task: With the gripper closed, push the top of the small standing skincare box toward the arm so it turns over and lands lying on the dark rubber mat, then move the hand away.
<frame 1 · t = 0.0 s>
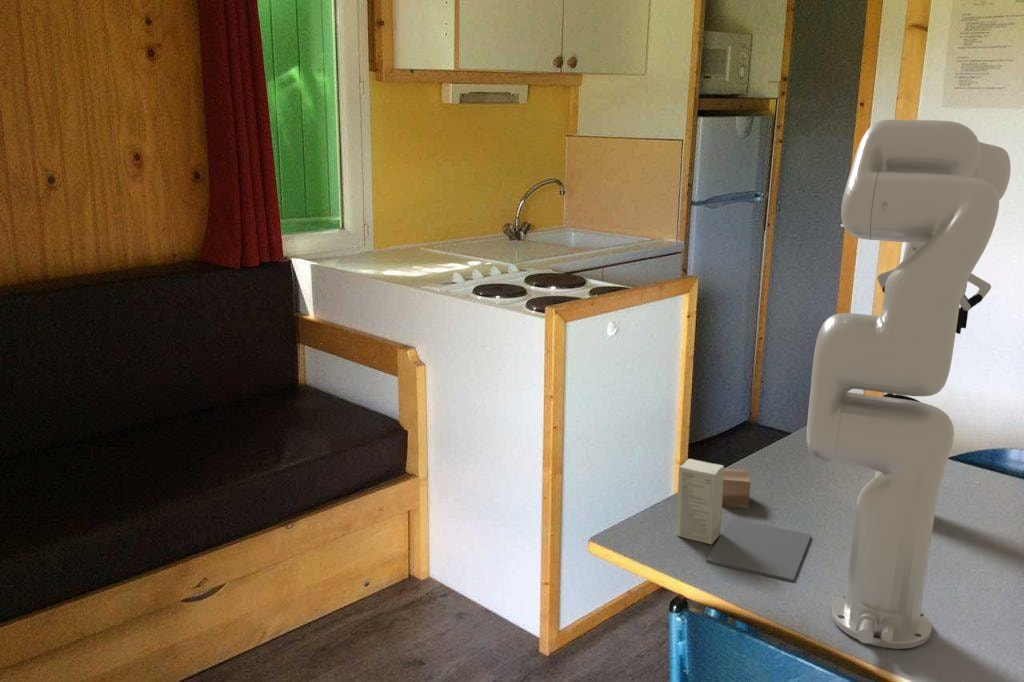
hand: (926, 328, 156), 31 cm above the table, tool pointing down, fingers open, 9 cm apart
mat: (760, 549, 146), on the table
travel mug: (889, 508, 161), on the table
walnut block: (733, 501, 163), on the table
skincare box: (697, 536, 150), on the table
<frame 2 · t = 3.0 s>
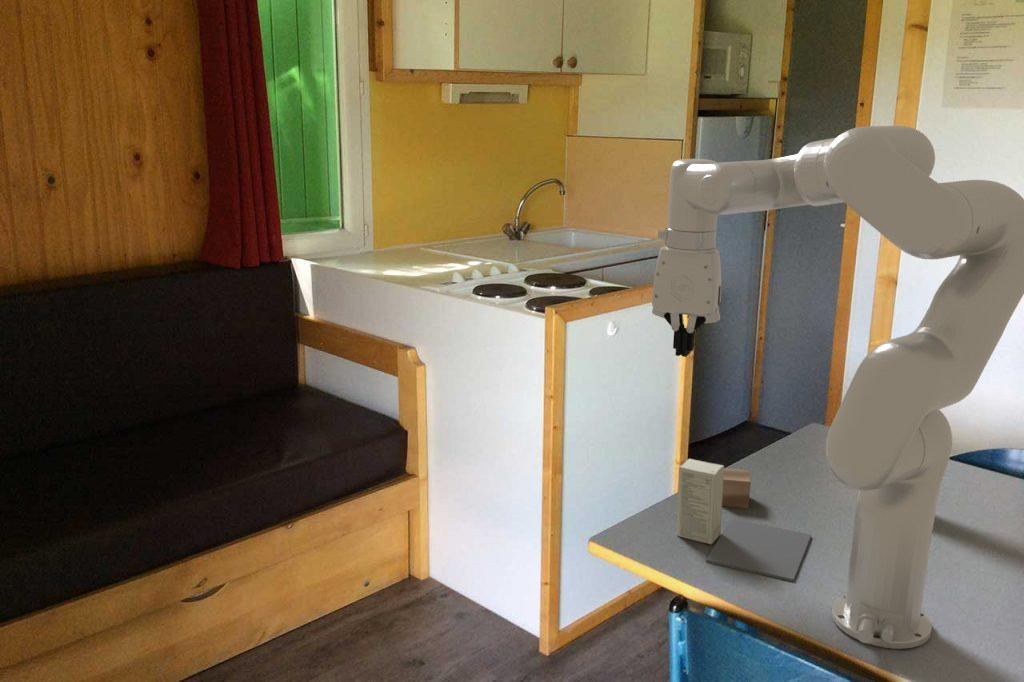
hand: (683, 354, 148), 29 cm above the table, tool pointing down, fingers closed
nothing on the table moved.
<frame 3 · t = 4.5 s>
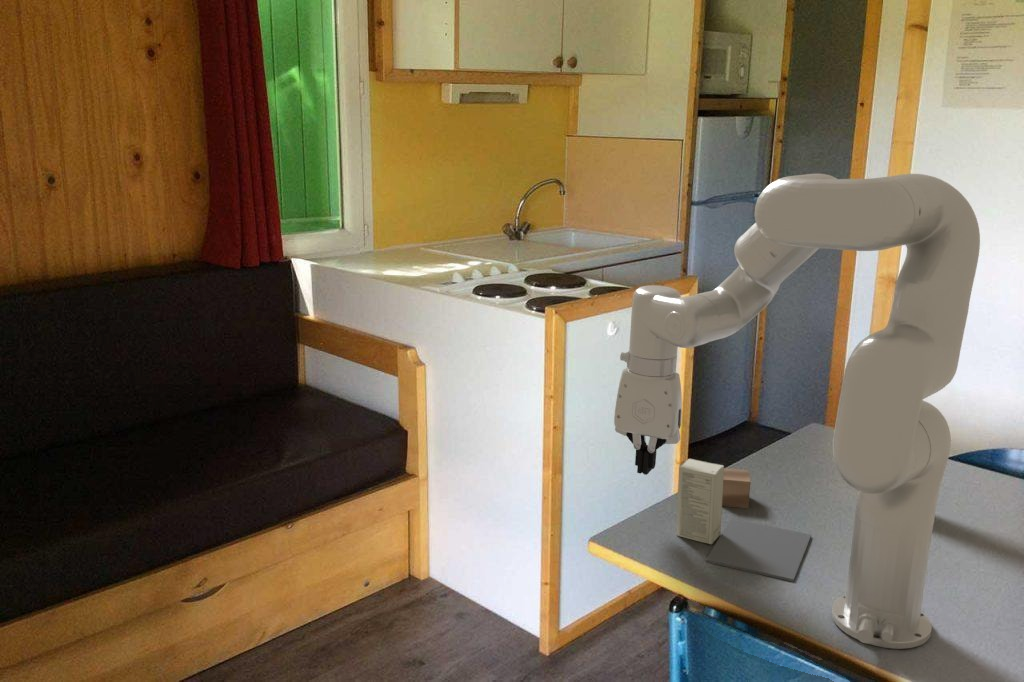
hand: (644, 470, 152), 9 cm above the table, tool pointing down, fingers closed
nothing on the table moved.
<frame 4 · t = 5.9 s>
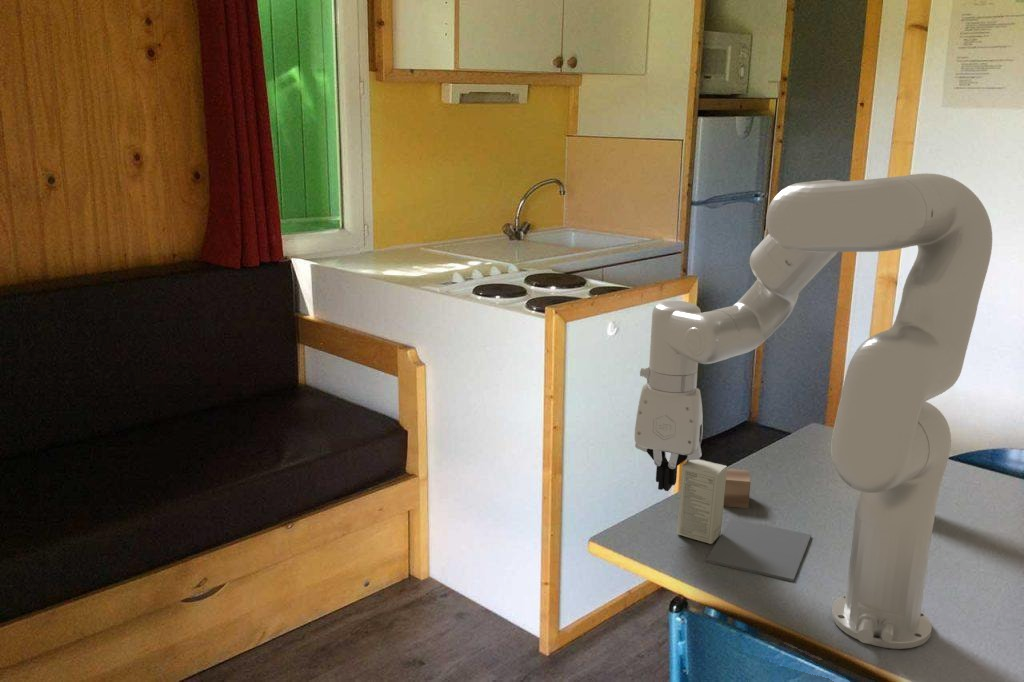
hand: (665, 487, 150), 7 cm above the table, tool pointing down, fingers closed
skincare box: (697, 535, 150), on the table, touching gripper
everything else where it was.
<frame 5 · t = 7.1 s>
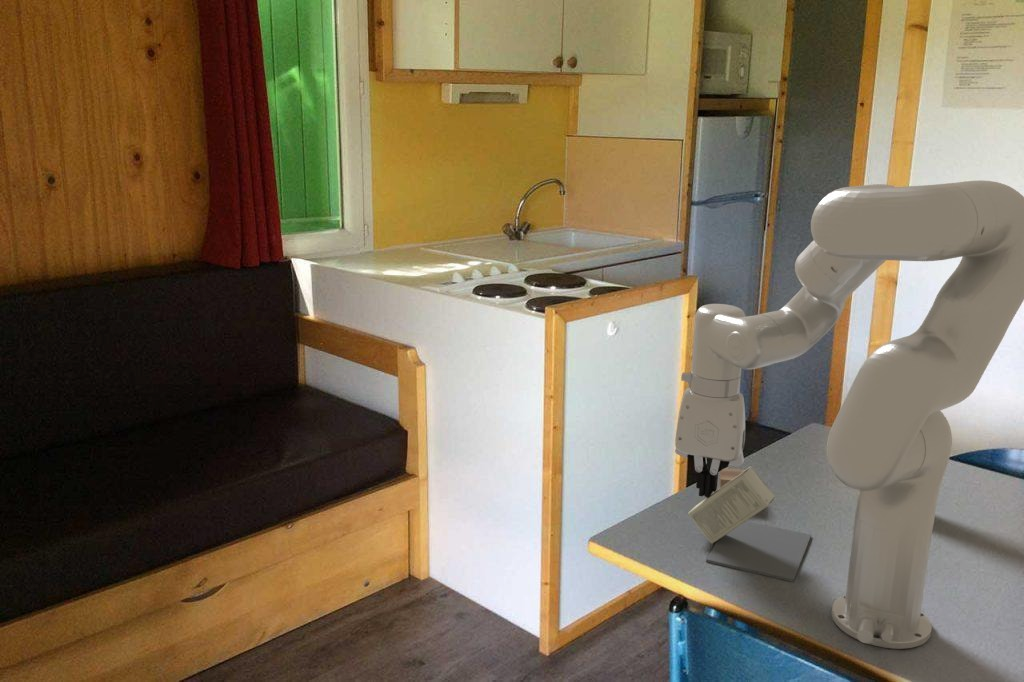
hand: (706, 493, 148), 7 cm above the table, tool pointing down, fingers closed
skincare box: (702, 524, 149), point 2 cm above the table, touching gripper, mat
everything else where it was.
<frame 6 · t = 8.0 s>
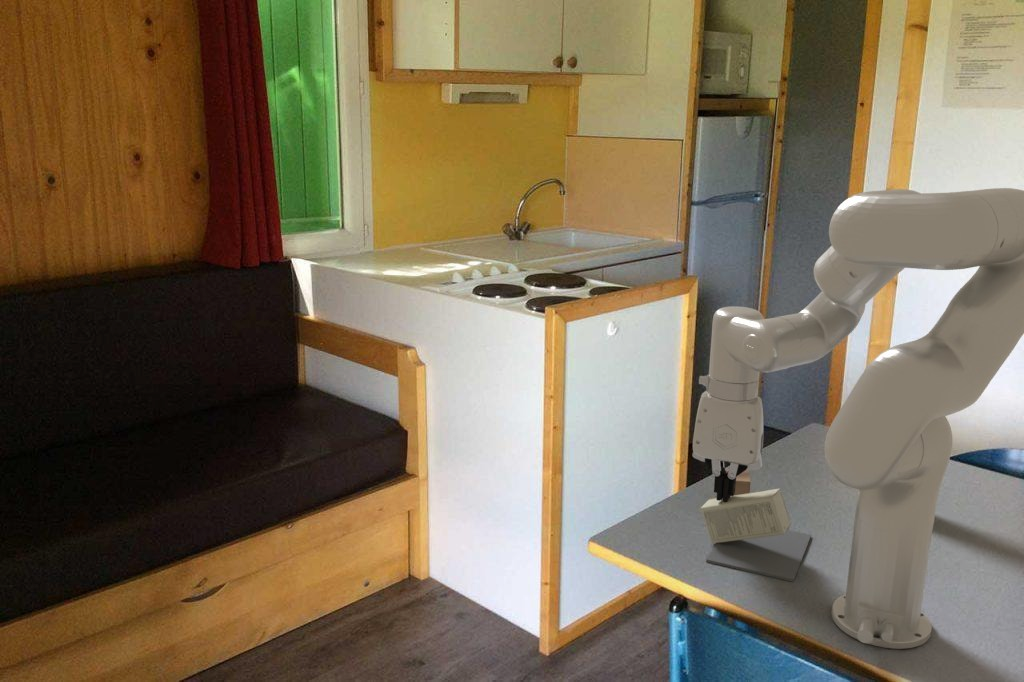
hand: (723, 497, 146), 7 cm above the table, tool pointing down, fingers closed
skincare box: (708, 520, 148), point 3 cm above the table, touching gripper, mat
everything else where it was.
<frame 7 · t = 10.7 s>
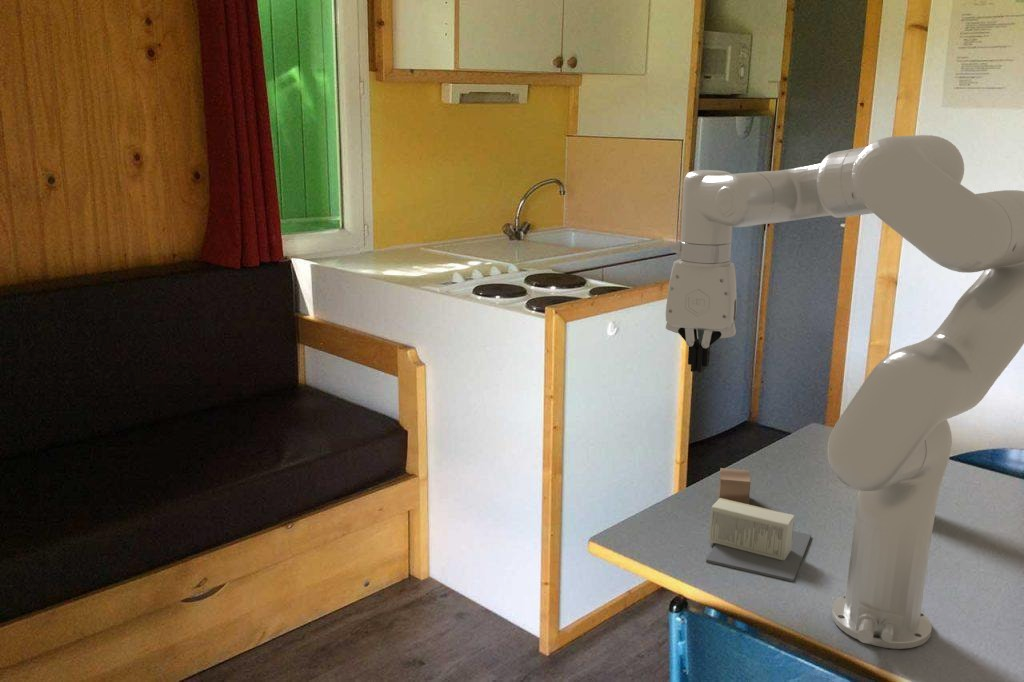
hand: (698, 369, 144), 27 cm above the table, tool pointing down, fingers closed
skincare box: (712, 518, 148), point 4 cm above the table, touching mat
everything else where it was.
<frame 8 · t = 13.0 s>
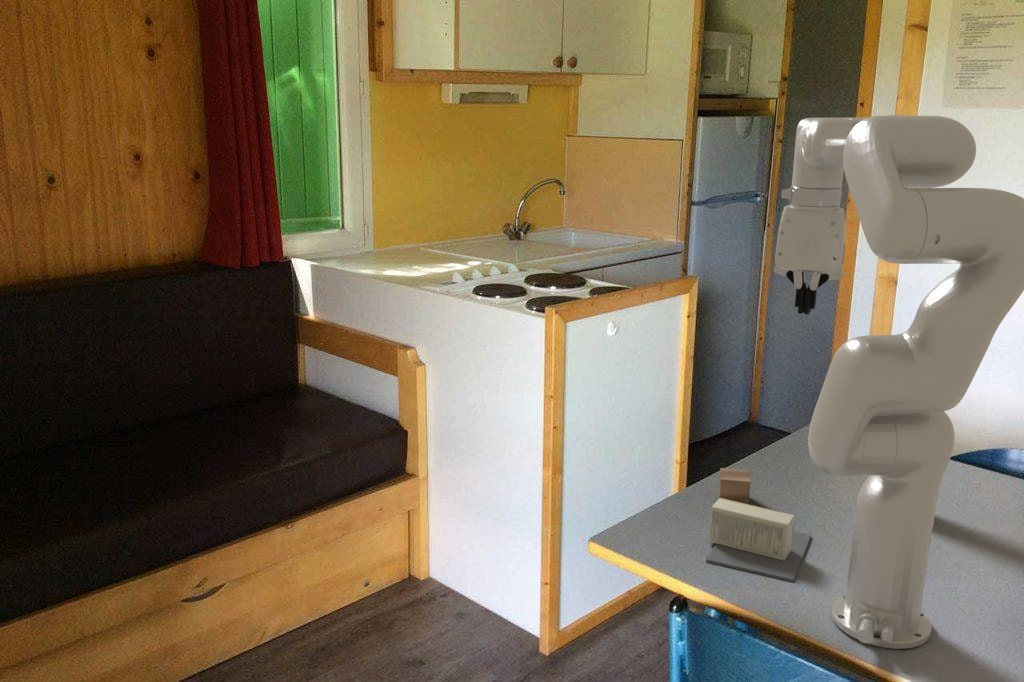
hand: (804, 312, 150), 35 cm above the table, tool pointing down, fingers closed
nothing on the table moved.
at the end: skincare box tilted 91°; skincare box inside the target area (7.3 cm from its centre), point 3.6 cm above the table; the gripper is holding nothing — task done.
